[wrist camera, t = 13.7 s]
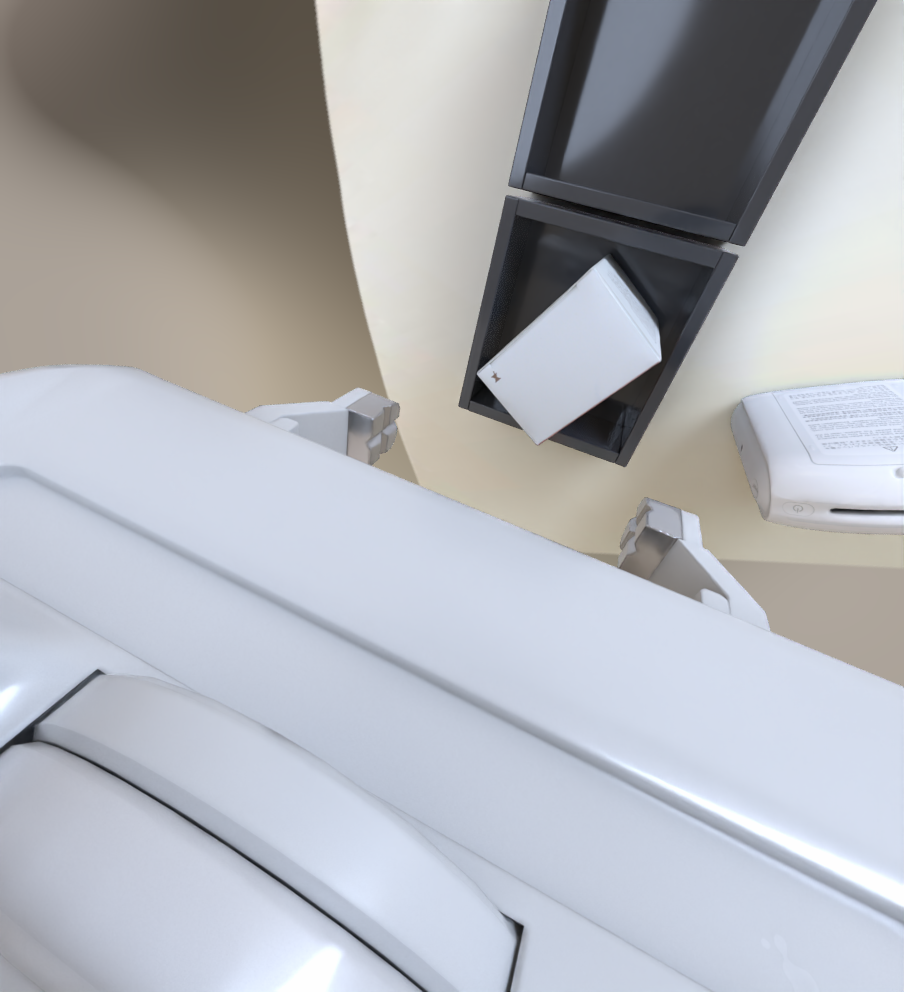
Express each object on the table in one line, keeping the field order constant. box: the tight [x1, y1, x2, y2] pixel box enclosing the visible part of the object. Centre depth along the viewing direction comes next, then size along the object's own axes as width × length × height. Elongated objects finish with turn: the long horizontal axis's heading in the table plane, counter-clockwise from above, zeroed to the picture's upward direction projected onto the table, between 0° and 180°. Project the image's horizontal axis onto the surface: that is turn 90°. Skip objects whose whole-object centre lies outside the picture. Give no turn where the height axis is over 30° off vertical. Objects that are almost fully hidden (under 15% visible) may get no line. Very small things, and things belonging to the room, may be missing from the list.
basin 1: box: [508, 0, 877, 246], centre depth 21 cm, size 13×13×6 cm
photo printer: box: [731, 379, 904, 535], centre depth 24 cm, size 10×4×12 cm, turn 104°
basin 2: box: [458, 195, 739, 467], centre depth 29 cm, size 13×13×6 cm
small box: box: [477, 254, 661, 445], centre depth 26 cm, size 8×6×10 cm
